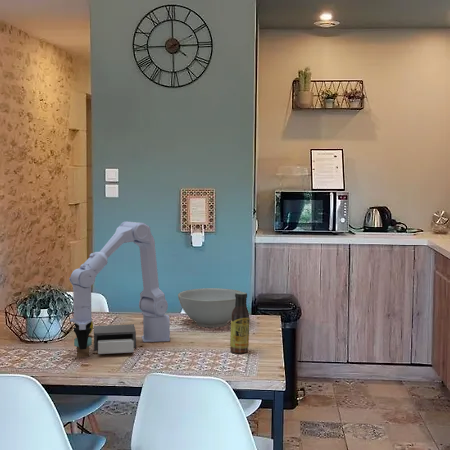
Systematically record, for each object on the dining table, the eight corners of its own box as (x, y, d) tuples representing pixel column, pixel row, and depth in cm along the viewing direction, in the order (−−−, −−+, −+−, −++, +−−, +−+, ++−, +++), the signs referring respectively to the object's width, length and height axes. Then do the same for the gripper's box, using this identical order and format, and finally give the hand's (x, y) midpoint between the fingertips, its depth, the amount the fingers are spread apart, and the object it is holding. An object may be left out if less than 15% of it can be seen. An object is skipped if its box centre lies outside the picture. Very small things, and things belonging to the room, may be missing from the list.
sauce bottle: (235, 354, 213) (235, 295, 212) (226, 350, 219) (226, 292, 217) (252, 352, 216) (253, 293, 215) (243, 348, 222) (244, 290, 220)
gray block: (133, 340, 231) (133, 324, 231) (135, 348, 221) (135, 331, 220) (93, 342, 229) (93, 325, 228) (94, 350, 218) (93, 333, 217)
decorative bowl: (164, 323, 258) (164, 293, 257) (214, 314, 276) (214, 285, 275) (208, 335, 238) (208, 303, 238) (259, 324, 256) (259, 294, 256)
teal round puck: (91, 342, 215) (91, 336, 215) (91, 346, 210) (91, 340, 210) (74, 343, 214) (74, 337, 214) (74, 347, 209) (73, 341, 209)
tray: (131, 344, 221) (131, 333, 221) (133, 352, 212) (133, 341, 212) (97, 346, 219) (97, 335, 219) (98, 353, 210) (98, 342, 209)
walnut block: (89, 353, 215) (89, 342, 214) (89, 356, 211) (89, 346, 210) (77, 353, 214) (76, 343, 214) (76, 357, 210) (76, 346, 210)
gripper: (70, 301, 217) (71, 341, 218) (69, 310, 203) (69, 353, 204) (92, 301, 219) (92, 340, 220) (92, 309, 205) (92, 351, 206)
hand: (83, 346), depth 212 cm, fingers closed on teal round puck, 6 cm apart
